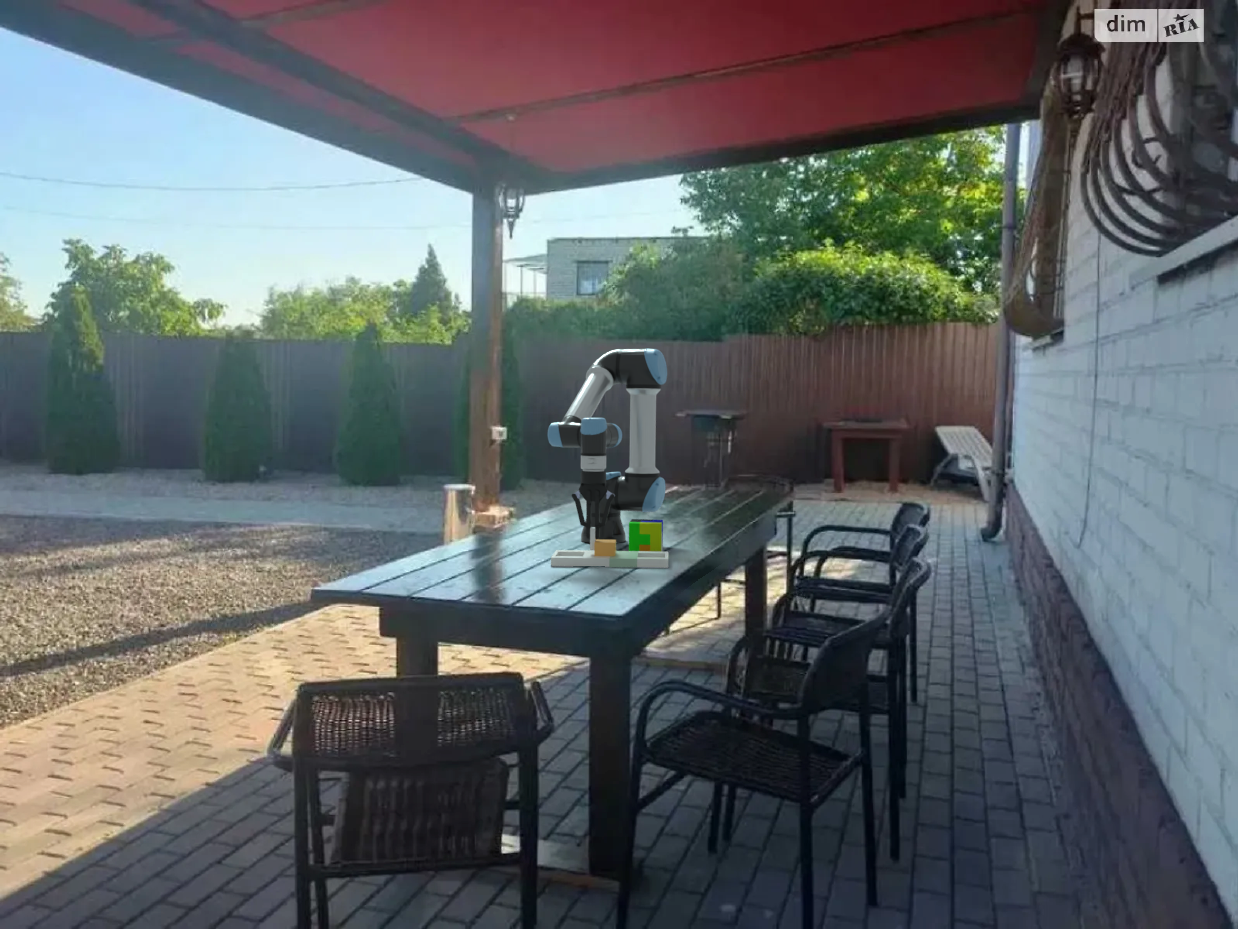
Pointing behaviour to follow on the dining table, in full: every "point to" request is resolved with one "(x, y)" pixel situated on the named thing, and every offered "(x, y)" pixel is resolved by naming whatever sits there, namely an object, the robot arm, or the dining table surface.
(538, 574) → the dining table surface
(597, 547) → the orange block
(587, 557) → the plate
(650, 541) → the puzzle toy
